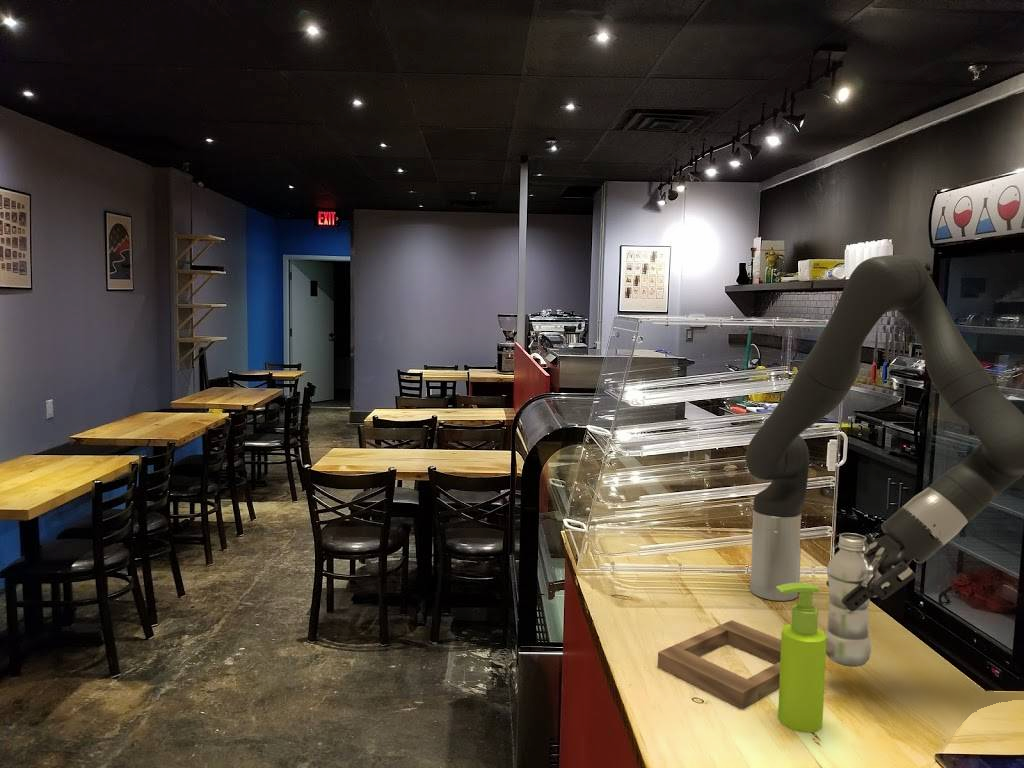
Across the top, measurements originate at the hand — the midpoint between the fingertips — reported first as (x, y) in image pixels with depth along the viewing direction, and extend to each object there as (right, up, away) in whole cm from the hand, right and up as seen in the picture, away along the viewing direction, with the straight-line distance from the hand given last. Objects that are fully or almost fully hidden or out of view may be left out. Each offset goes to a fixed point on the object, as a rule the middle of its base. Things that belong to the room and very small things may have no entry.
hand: (838, 597), depth 111 cm
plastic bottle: (+2, -11, +1) cm, 11 cm away
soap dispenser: (-10, -15, -8) cm, 20 cm away
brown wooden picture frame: (-13, -14, +7) cm, 20 cm away
